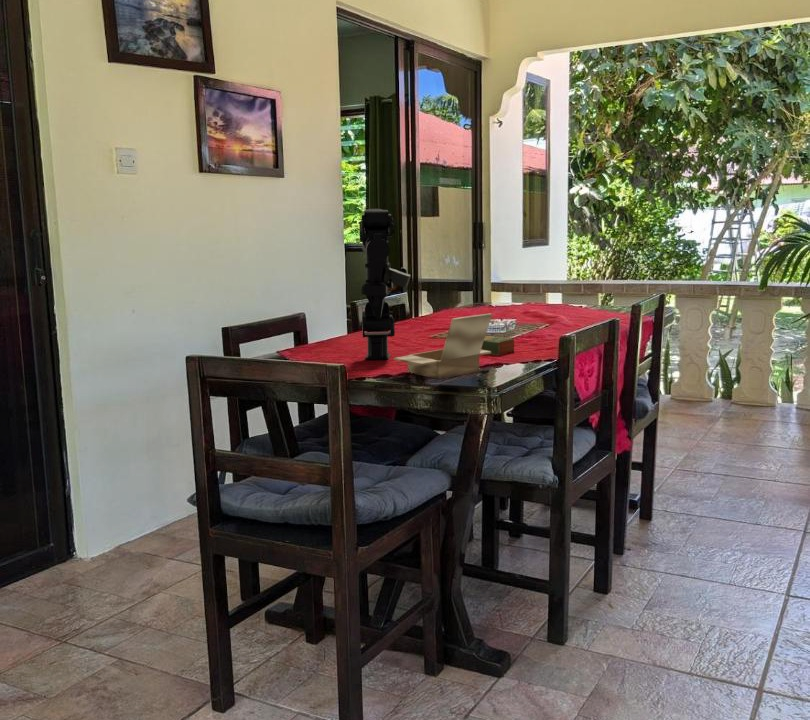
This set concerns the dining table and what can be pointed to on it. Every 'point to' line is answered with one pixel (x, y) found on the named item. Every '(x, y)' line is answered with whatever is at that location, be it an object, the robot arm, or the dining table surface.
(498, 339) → the carton
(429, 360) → the open box
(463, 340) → the flap
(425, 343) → the dining table surface
